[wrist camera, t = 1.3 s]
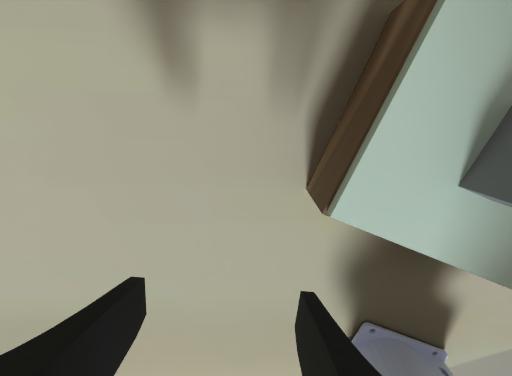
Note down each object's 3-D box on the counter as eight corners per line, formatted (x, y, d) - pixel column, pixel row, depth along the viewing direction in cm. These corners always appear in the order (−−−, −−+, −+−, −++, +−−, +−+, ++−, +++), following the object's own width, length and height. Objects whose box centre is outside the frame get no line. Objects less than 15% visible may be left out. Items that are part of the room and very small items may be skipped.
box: (558, 91, 18) (689, 77, 12) (448, 246, 21) (511, 289, 16) (392, 11, 16) (455, -44, 11) (306, 189, 20) (322, 213, 15)
